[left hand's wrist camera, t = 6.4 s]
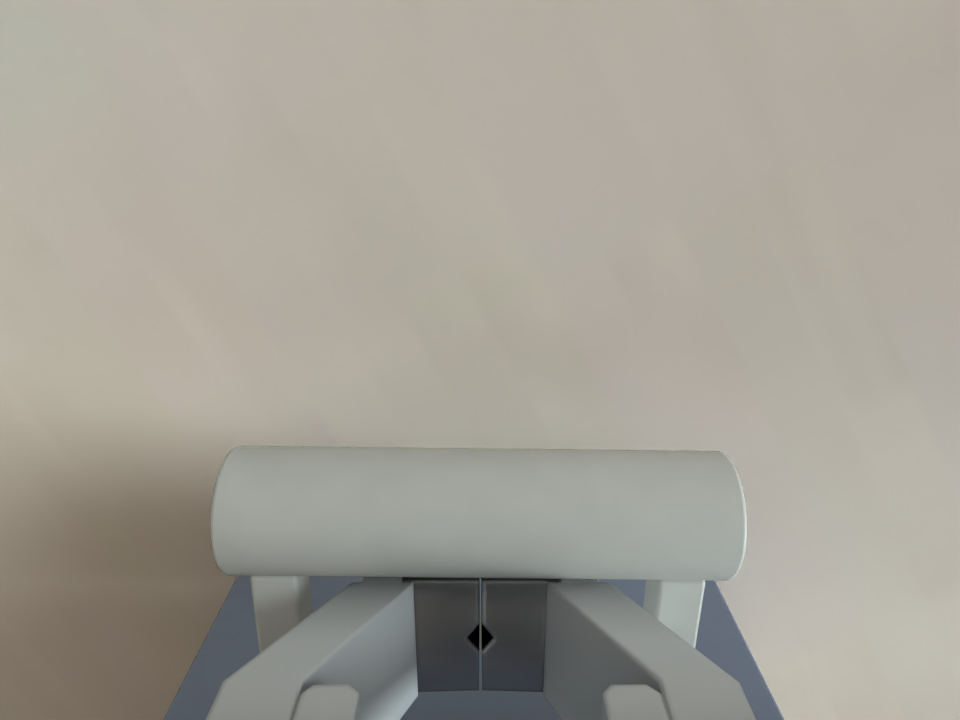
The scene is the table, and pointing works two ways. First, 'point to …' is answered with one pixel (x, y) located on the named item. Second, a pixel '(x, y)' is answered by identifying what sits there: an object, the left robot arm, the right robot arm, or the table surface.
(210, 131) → the table surface
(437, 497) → the drawer
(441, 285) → the table surface
